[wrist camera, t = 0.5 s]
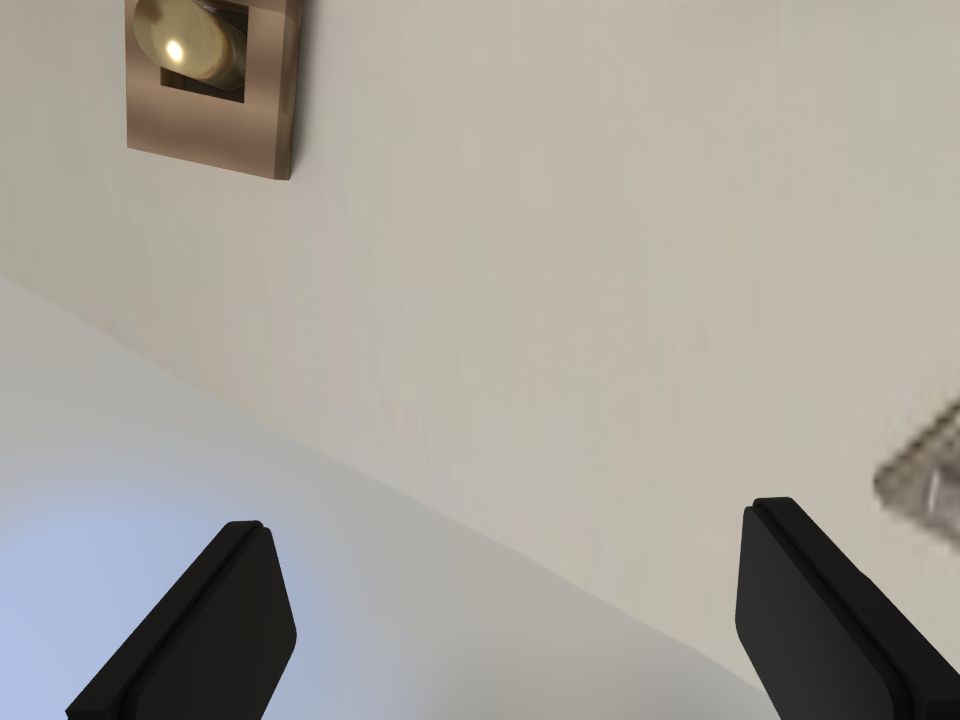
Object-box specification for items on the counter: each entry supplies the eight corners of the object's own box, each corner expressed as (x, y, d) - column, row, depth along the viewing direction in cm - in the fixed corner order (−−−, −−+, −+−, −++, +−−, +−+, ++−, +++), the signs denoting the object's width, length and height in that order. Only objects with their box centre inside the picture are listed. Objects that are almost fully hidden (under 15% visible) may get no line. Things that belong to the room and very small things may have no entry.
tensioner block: (151, -84, 32) (122, -107, 29) (307, -50, 32) (290, -69, 30) (152, 150, 36) (127, 147, 34) (288, 180, 36) (273, 179, 34)
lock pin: (196, 17, 33) (132, -20, 28) (256, 30, 34) (204, -4, 28) (195, 83, 35) (133, 61, 29) (252, 95, 35) (201, 76, 29)
